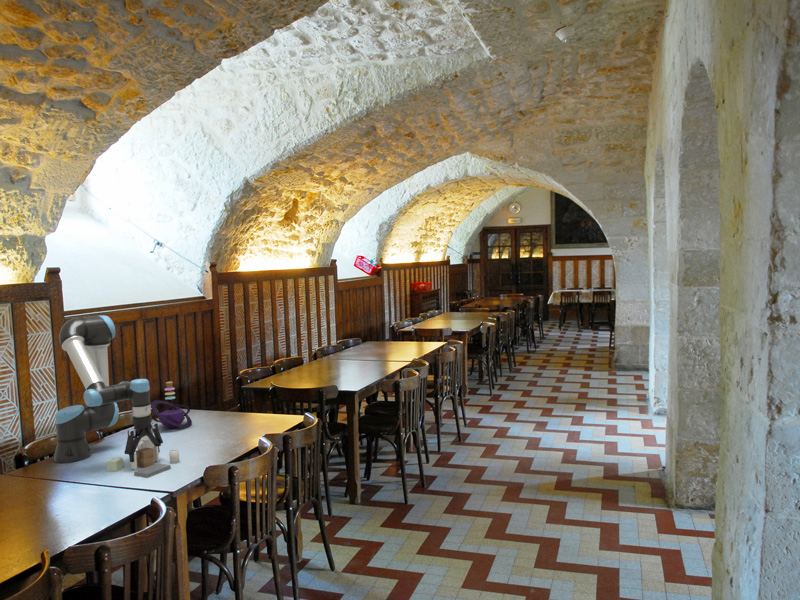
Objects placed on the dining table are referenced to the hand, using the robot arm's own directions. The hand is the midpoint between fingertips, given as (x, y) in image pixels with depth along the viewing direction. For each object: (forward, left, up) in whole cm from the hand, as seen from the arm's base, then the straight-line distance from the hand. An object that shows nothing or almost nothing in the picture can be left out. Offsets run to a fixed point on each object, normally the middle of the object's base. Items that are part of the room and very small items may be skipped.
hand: (145, 464), depth 269 cm
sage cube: (-8, -9, 0) cm, 12 cm away
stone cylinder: (+9, +8, 0) cm, 12 cm away
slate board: (+10, -5, 0) cm, 12 cm away
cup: (-13, +11, 0) cm, 17 cm away
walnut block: (0, 0, 0) cm, 0 cm away
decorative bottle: (-40, +50, 0) cm, 64 cm away
